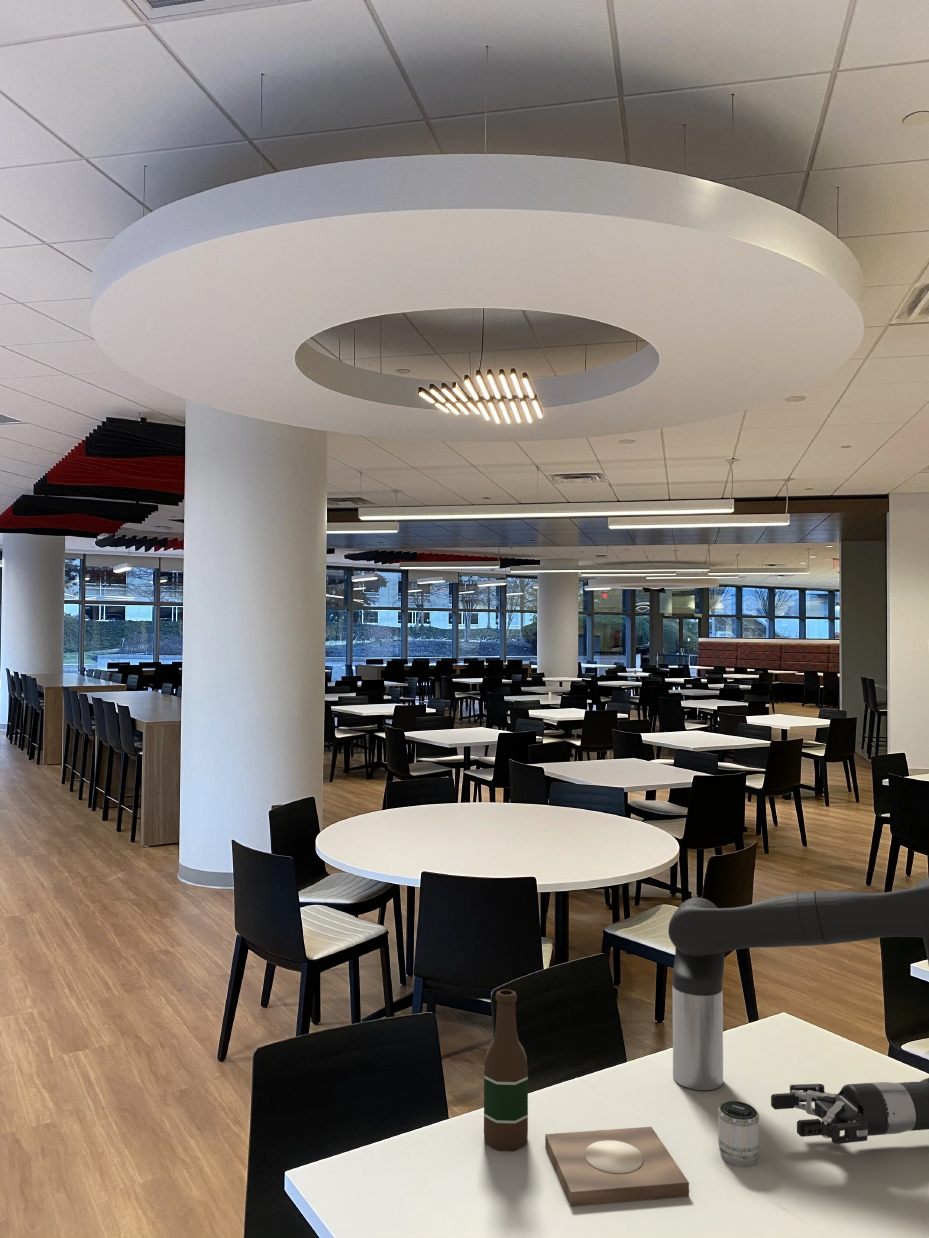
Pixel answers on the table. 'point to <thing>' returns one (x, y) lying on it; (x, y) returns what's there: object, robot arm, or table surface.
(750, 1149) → the camera lens
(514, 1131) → the beer bottle
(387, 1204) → the table surface
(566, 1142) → the display stand
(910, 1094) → the robot arm
